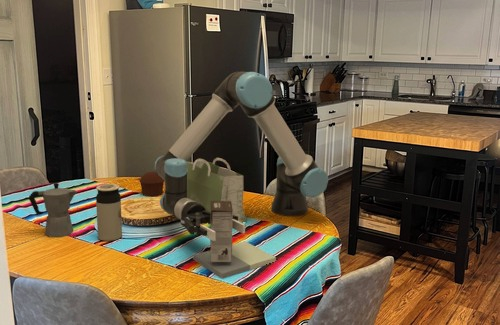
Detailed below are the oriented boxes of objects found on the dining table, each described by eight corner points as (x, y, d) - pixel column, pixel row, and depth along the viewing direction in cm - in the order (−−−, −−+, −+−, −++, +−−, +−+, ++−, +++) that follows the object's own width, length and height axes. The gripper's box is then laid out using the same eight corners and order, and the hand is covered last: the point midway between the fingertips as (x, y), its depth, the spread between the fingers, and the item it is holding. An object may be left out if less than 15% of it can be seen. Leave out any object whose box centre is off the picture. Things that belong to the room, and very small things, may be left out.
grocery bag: (249, 222, 183) (251, 163, 178) (220, 230, 175) (221, 168, 170) (202, 202, 207) (202, 149, 202) (174, 208, 199) (173, 153, 194)
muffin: (145, 189, 224) (144, 169, 222) (168, 191, 222) (167, 170, 220) (135, 197, 212) (135, 175, 210) (160, 198, 211) (159, 176, 209)
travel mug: (93, 240, 162) (91, 189, 158) (104, 232, 170) (102, 183, 166) (116, 242, 161) (113, 190, 157) (125, 234, 168) (124, 184, 165)
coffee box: (210, 250, 149) (210, 200, 146) (230, 249, 150) (231, 200, 146) (210, 262, 140) (210, 209, 137) (232, 262, 141) (233, 209, 137)
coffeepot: (79, 226, 175) (76, 178, 171) (79, 235, 166) (76, 185, 162) (32, 230, 169) (29, 181, 166) (30, 240, 161) (26, 188, 157)
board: (244, 245, 161) (244, 241, 160) (275, 261, 148) (275, 257, 148) (193, 259, 149) (193, 254, 148) (222, 278, 136) (222, 273, 136)
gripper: (218, 217, 164) (259, 236, 147) (159, 229, 151) (196, 253, 134) (219, 196, 163) (260, 213, 146) (159, 207, 149) (196, 227, 132)
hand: (229, 232), depth 140 cm, fingers closed on coffee box, 10 cm apart
